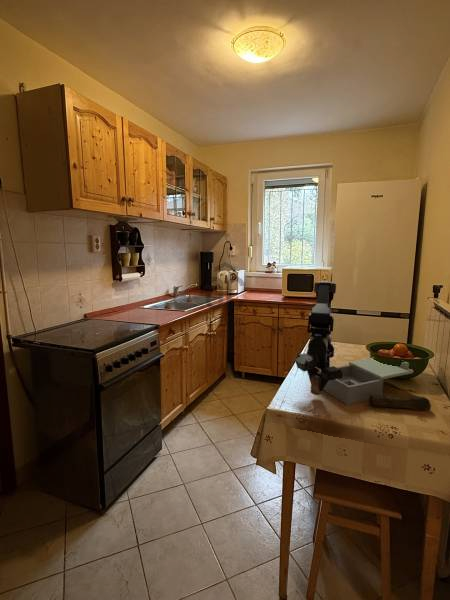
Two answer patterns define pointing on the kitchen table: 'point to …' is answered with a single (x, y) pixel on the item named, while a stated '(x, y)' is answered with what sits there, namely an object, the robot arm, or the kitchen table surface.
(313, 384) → the peg
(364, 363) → the lid
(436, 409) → the kitchen table surface
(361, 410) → the kitchen table surface
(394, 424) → the kitchen table surface
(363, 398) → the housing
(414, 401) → the dark brown rough bar
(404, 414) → the kitchen table surface
